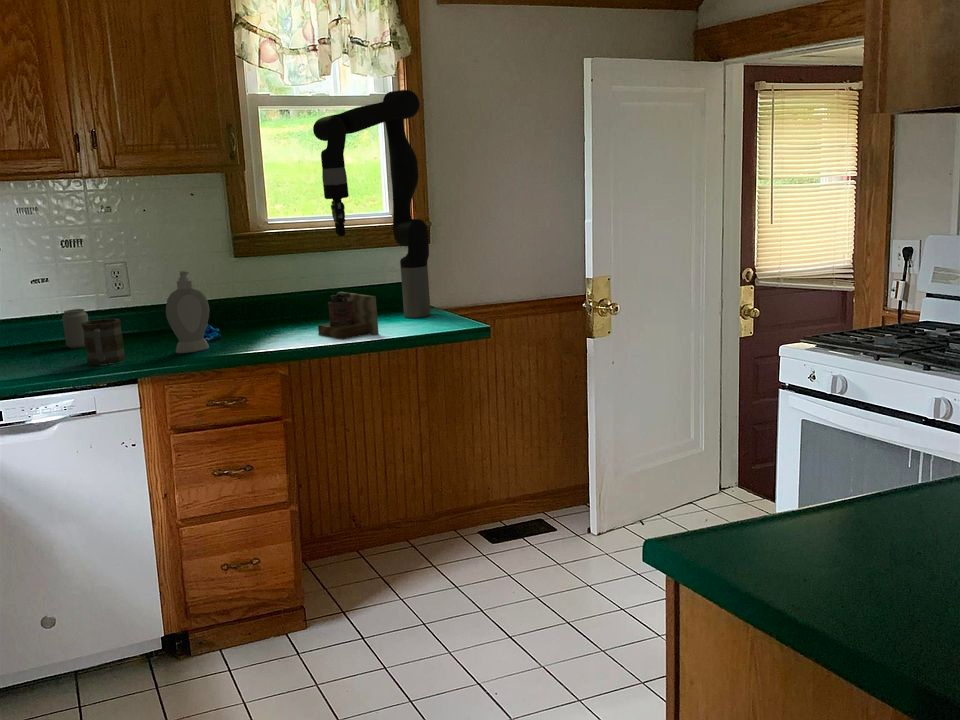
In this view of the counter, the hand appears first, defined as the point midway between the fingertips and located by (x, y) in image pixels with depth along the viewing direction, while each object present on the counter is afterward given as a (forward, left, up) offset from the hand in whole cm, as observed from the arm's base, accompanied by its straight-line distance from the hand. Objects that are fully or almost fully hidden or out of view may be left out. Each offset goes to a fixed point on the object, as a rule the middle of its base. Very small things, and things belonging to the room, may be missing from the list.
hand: (340, 234), depth 295 cm
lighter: (+6, -1, -28) cm, 29 cm away
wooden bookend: (+5, -1, -31) cm, 31 cm away
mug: (+28, -69, -31) cm, 80 cm away
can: (-4, -87, -31) cm, 92 cm away
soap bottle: (+18, -46, -31) cm, 58 cm away
